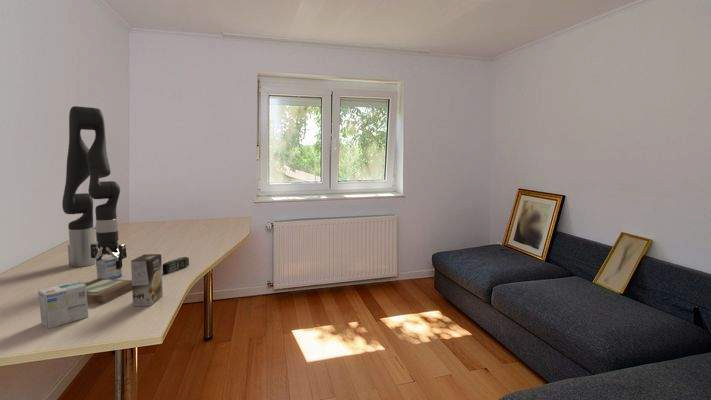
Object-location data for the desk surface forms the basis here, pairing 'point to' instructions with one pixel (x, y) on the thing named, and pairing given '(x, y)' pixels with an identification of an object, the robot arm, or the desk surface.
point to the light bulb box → (63, 304)
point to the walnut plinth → (106, 289)
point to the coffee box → (146, 279)
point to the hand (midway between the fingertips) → (109, 268)
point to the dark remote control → (175, 265)
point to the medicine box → (108, 269)
